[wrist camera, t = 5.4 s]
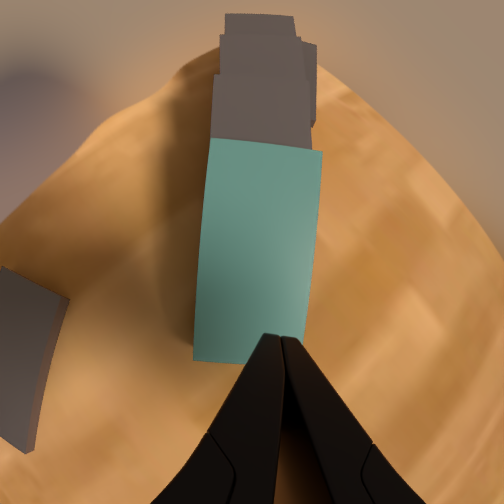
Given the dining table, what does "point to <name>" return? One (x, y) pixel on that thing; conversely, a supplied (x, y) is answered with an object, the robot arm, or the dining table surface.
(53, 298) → the domino
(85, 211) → the dining table surface
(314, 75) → the domino
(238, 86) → the domino
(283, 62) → the domino
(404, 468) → the dining table surface
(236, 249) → the domino
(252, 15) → the domino
